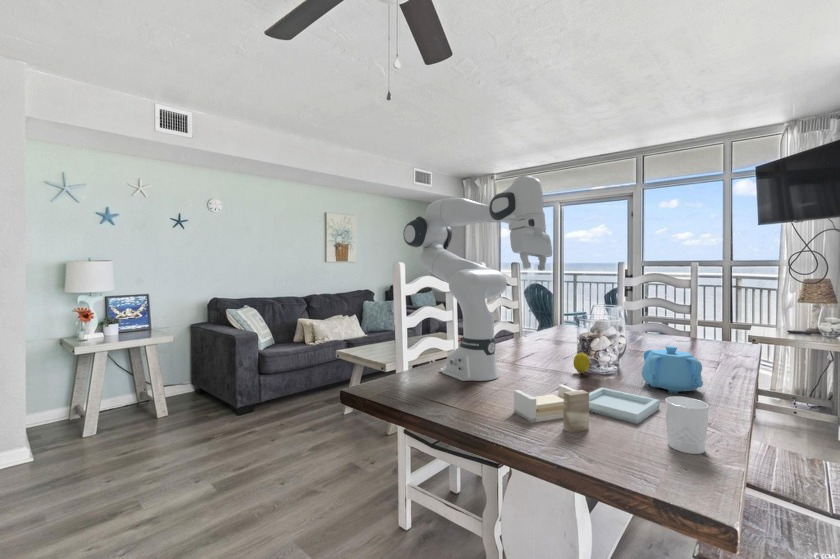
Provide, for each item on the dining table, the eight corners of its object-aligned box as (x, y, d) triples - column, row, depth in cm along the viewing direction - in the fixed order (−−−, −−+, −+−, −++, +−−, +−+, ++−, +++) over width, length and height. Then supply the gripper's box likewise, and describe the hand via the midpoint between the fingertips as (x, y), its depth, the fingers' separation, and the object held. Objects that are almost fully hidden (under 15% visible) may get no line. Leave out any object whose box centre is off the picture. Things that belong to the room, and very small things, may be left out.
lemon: (591, 376, 145) (591, 354, 145) (574, 375, 146) (574, 353, 146) (587, 372, 150) (587, 350, 150) (572, 371, 151) (572, 350, 151)
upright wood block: (563, 428, 98) (563, 392, 98) (581, 425, 100) (581, 389, 99) (570, 432, 96) (570, 395, 95) (588, 429, 97) (589, 392, 97)
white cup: (663, 449, 86) (664, 403, 86) (665, 436, 93) (666, 394, 93) (708, 459, 82) (709, 411, 82) (707, 445, 89) (708, 400, 88)
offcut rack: (514, 412, 109) (514, 390, 109) (562, 405, 114) (562, 384, 114) (531, 422, 102) (531, 399, 101) (582, 414, 107) (582, 392, 107)
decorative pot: (699, 385, 133) (699, 344, 133) (704, 399, 119) (704, 353, 119) (642, 379, 141) (643, 340, 141) (641, 391, 127) (642, 348, 127)
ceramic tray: (576, 407, 112) (576, 399, 112) (601, 395, 123) (601, 387, 123) (637, 424, 100) (637, 414, 100) (659, 408, 111) (659, 399, 111)
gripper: (537, 232, 136) (541, 272, 135) (505, 223, 122) (508, 268, 120) (555, 228, 132) (559, 270, 130) (523, 219, 117) (527, 265, 116)
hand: (534, 269), depth 125 cm, fingers open, 8 cm apart
